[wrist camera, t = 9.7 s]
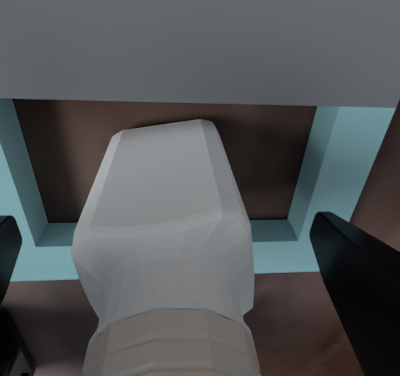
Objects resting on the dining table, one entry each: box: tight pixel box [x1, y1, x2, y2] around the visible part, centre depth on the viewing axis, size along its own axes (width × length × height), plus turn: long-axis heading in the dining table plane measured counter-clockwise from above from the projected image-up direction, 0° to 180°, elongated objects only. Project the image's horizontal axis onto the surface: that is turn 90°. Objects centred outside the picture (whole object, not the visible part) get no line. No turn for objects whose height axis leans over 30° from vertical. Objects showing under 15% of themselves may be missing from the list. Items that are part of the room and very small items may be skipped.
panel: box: [0, 0, 400, 281], centre depth 9 cm, size 20×15×2 cm
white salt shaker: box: [71, 119, 261, 376], centre depth 8 cm, size 4×4×10 cm
